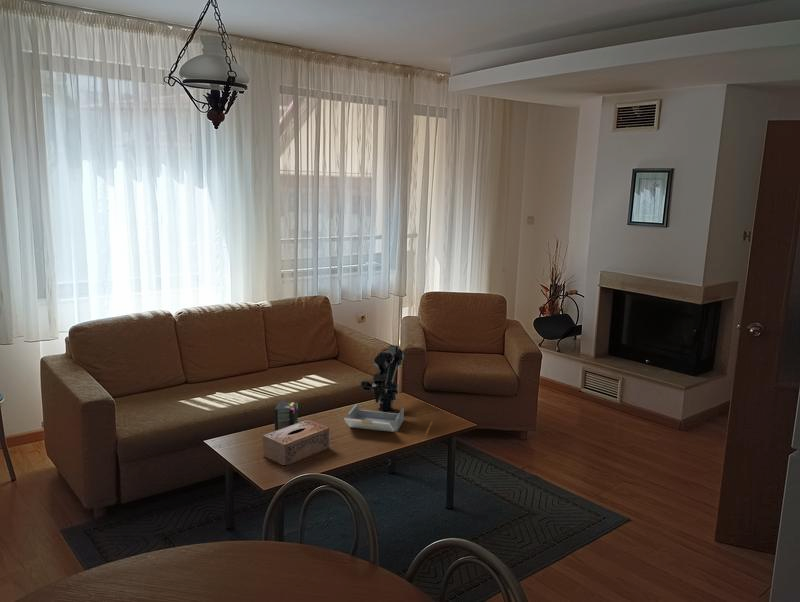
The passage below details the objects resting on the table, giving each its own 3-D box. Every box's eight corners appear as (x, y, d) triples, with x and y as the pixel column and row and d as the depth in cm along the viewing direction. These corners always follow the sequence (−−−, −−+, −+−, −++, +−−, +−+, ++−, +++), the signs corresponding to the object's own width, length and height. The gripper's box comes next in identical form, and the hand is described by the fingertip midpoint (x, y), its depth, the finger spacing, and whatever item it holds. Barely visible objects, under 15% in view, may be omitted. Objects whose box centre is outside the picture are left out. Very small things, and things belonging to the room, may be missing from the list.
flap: (350, 426, 309) (344, 417, 298) (394, 430, 304) (389, 422, 293) (350, 427, 308) (343, 419, 297) (393, 432, 304) (389, 424, 293)
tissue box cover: (307, 439, 294) (307, 419, 292) (329, 448, 285) (329, 427, 283) (263, 457, 275) (262, 435, 273) (284, 467, 266) (284, 444, 264)
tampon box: (294, 439, 294) (293, 409, 291) (274, 438, 294) (274, 409, 291) (298, 430, 304) (298, 401, 302) (279, 429, 304) (279, 401, 302)
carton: (356, 416, 324) (356, 403, 322) (403, 421, 319) (403, 408, 317) (347, 427, 309) (347, 413, 308) (397, 432, 304) (397, 419, 303)
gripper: (361, 365, 316) (355, 393, 308) (397, 368, 312) (392, 397, 304) (365, 375, 325) (359, 403, 317) (401, 378, 321) (395, 406, 313)
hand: (376, 402), depth 312 cm, fingers closed
